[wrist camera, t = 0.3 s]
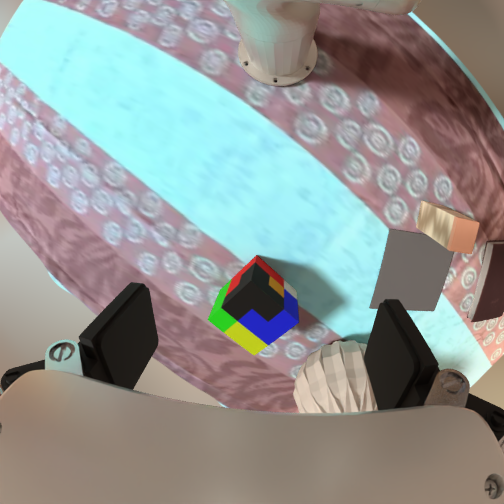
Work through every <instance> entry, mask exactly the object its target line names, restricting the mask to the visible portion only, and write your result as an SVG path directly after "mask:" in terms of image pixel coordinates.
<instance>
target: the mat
mask: <svg viewBox="0 0 504 504" xmlns="http://www.w3.org/2000/svg"><path fill="white" fill-rule="evenodd" d="M453 253H454V251H449V250H448V249H446V248H445V247H444V246H442V245H441V244H439V243H438V242H437V241H435V240H434V239H432V238H431V237H430V236H428V235H426V234H420V233H414V232H408V231H401V230H395V229H389V234H388V239H387V243H386V247H385V252H384V256H383V260H382V264H381V268H380V272H379V276H378V279H377V283H376V287H375V290H374V294H373V297H372V301H371V304H370V307H369V308H371V309H378V307H379V304H380V303H383V301H384V300H385V299H398V300H400V302H401V303H402V305H403V306H404V308H405V310H413V311H434V309H435V307H436V304H437V302H438V299H439V296H440V293H441V291H442V288H443V285H444V282H445V279H446V276H447V273H448V270H449V266H450V263H451V260H452V256H453Z"/></svg>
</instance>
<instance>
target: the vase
mask: <svg viewBox="0 0 504 504" xmlns="http://www.w3.org/2000/svg"><path fill="white" fill-rule="evenodd" d="M366 347H367V344H365V343H357V342H356V341H355V340H354V341H353V340H349V341H346V342H342V341H340V340H339V341H335V342H334V343H333V344H332V345H324V346H322V347H321V349H320V350H319V351H315V352H313V353H311V354H310V355H309V356H308V358H307V361H306V362H305V363H303V365H302V366H301V368H300V370H299V372H298V375H297V378H296V380H295V383H294V385H295V390H294V393H293V395H294V398H295V401H296V404H297V406H298V409H299V413H345V412H363V411H377V410H378V408H377V404H376V401H375V397H374V393H373V390H372V386H371V383H370V380H369V376H368V373H367V369H366V366H365V363H364V354H365V351H366Z"/></svg>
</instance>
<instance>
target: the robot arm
mask: <svg viewBox="0 0 504 504" xmlns="http://www.w3.org/2000/svg"><path fill="white" fill-rule="evenodd" d="M223 1H224V2H225V3H226V4H227V6H228V8H229V9H230V12H231V14H232V16H233V18H234V21H235V23H236V26H237V28H238V31H239V33H240V36H241V38H242V39H241V41H240V43H239V47H238V56H239V60H240V63H241V65H242V67H243V68H244V70H245V71H246V72H247V73H248V74H249V75H250V76H251V77H252V78H254V79H255V80H257V81H259V82H261V83H263V84H267V85H271V86H287V85H292V84H295V83H297V82H300V81H301V80H303V79H305V78H306V77H307V76H308V75H309V74H310V73H311V72H312V70H313V69H314V67H315V65H316V61H317V57H318V51H317V46H316V43H315V41H314V39H313V37H314V33H315V30H316V26H317V23H318V19H319V15H320V3H325V4H333V5H340V6H347V7H353V8H358V9H363V10H369V11H373V12H378V13H383V14H389V15H404V14H408V13H410V12H411V11H413V10H414V9H415V8H416V7H417V6H418V5H419V3H420V2H421V0H223ZM246 64H248V66H246ZM306 68H308V70H306ZM275 80H277V83H275V82H274V81H275ZM79 339H80V342H79V343H78V344H77V343H76V342H74V341H72V340H60V341H58V342H55V343H53V344H52V345H51V346H50V347H48V349H47V351H46V354H45V360H42V361H38V362H34V363H30V364H27V365H23V366H19V367H15V368H12V369H9V370H8V371H7V372H6V373H5V374H4V375H3V377H2V379H1V385H0V504H504V410H503V409H501V408H500V407H498V406H495V405H493V404H491V403H489V402H487V401H485V400H483V399H480V398H478V397H476V396H474V395H472V394H470V393H469V389H470V384H469V381H468V379H467V378H466V377H465V376H464V375H463V374H462V373H461V372H459V371H457V370H453V369H444V370H441V371H440V370H439V368H438V362H437V360H436V359H435V357H434V355H433V353H432V352H431V350H430V348H429V346H428V345H427V343H426V341H425V340H424V338H423V336H422V335H421V333H420V332H419V330H418V328H417V327H416V325H415V324H414V322H413V320H412V319H411V317H410V316H409V314H408V313H407V311H406V310H405V308H404V306H403V305H402V303H401V302H400V300H398V299H385V300H384V301H383V303H380V304H379V307H378V311H377V314H376V318H375V321H374V325H373V328H372V332H371V335H370V338H369V341H368V344H367V347H366V351H365V354H364V363H365V366H366V369H367V373H368V376H369V380H370V383H371V386H372V390H373V393H374V397H375V401H376V404H377V408H378V410H377V411H363V412H345V413H284V412H266V411H253V410H242V409H233V408H225V407H217V406H210V405H203V404H197V403H191V402H186V401H180V400H174V399H170V398H165V397H160V396H156V395H151V394H147V393H143V392H139V391H135V390H133V389H134V386H135V385H136V383H137V381H138V379H139V378H140V376H141V374H142V373H143V371H144V369H145V367H146V365H147V364H148V362H149V360H150V358H151V357H152V355H153V353H154V352H155V350H156V348H157V346H158V335H157V330H156V325H155V319H154V314H153V308H152V303H151V297H150V291H149V288H147V287H146V286H145V284H142V283H133V282H131V283H130V284H129V285H128V286H127V287H126V288H125V289H124V290H123V291H122V292H121V293H120V294H119V295H118V296H117V297H116V298H115V299H114V300H113V301H112V302H111V303H110V304H109V305H108V306H107V307H106V308H105V309H104V310H103V311H102V312H101V313H100V314H99V315H98V316H97V317H96V319H95V320H94V321H93V322H92V323H91V324H90V325H89V326H88V327H87V328H86V329H85V330H84V331H83V332H82V333H81V335H80V336H79Z"/></svg>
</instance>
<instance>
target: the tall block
mask: <svg viewBox="0 0 504 504" xmlns="http://www.w3.org/2000/svg"><path fill="white" fill-rule="evenodd" d="M416 228H418V229H419V230H421V231H422V232H424V233H425V234H427V235H428V236H430V237H431V238H432V239H434V240H435V241H437V242H438V243H439V244H441V245H442V246H444V247H445V248H446V249H448V250H449V251H454V252H461V253H467V254H472V251H473V247H474V244H475V240H476V236H477V232H478V228H479V222H477V221H475V220H473V219H471V218H469V217H467V216H465V215H463V214H460V213H458V212H456V211H454V210H452V209H450V208H447V207H445V206H443V205H439V204H435V203H430V202H426V201H421V206H420V211H419V216H418V221H417V226H416Z"/></svg>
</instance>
